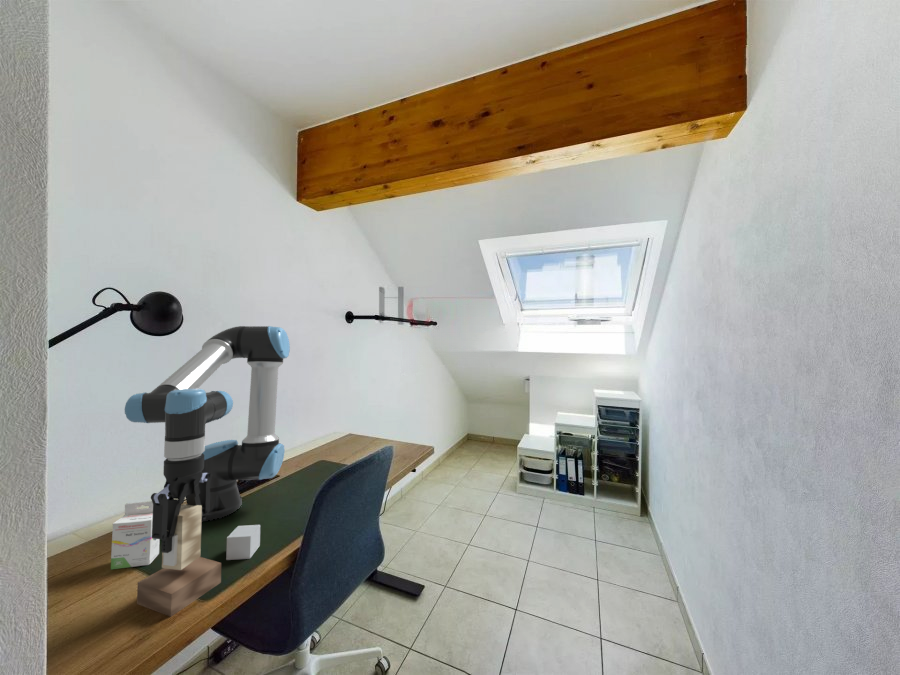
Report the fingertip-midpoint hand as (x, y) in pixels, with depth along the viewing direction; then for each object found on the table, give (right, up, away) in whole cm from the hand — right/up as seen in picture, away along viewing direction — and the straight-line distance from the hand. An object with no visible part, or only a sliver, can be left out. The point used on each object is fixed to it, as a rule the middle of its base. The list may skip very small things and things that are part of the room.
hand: (181, 556), depth 79 cm
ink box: (-21, -9, +11) cm, 25 cm away
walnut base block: (0, -9, 0) cm, 9 cm away
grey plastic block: (+5, -9, +15) cm, 18 cm away
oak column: (0, -1, 0) cm, 1 cm away
